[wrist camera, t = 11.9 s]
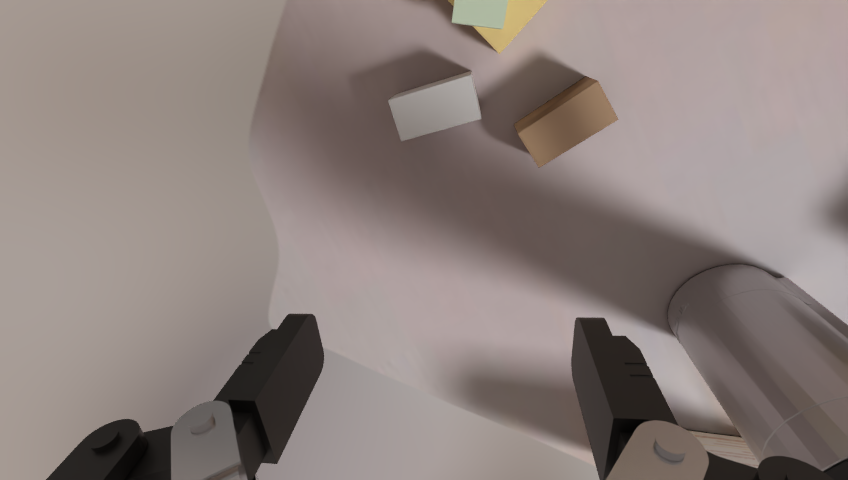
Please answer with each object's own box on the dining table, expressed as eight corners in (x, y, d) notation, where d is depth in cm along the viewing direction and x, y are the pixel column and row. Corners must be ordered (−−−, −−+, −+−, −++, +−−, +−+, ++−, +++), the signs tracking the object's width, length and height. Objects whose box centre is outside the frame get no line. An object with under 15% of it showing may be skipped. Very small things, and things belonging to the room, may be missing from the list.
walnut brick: (585, 75, 30) (597, 81, 27) (604, 110, 31) (618, 119, 28) (513, 123, 32) (517, 133, 29) (533, 155, 33) (538, 167, 30)
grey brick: (471, 70, 31) (470, 75, 28) (480, 110, 32) (481, 118, 29) (396, 93, 32) (387, 100, 29) (407, 131, 33) (401, 141, 30)
